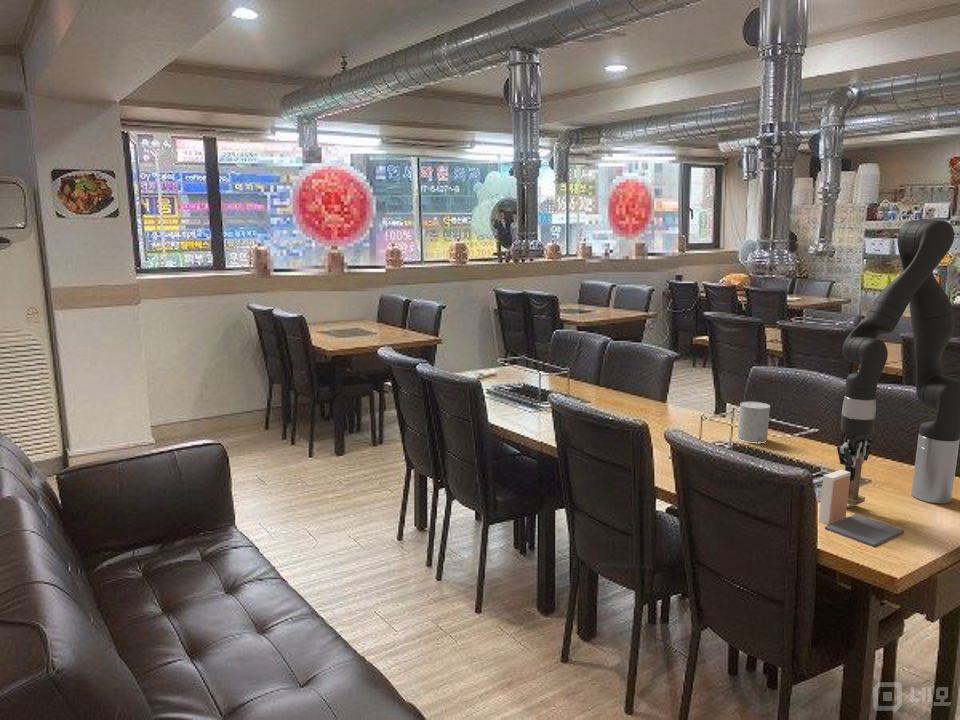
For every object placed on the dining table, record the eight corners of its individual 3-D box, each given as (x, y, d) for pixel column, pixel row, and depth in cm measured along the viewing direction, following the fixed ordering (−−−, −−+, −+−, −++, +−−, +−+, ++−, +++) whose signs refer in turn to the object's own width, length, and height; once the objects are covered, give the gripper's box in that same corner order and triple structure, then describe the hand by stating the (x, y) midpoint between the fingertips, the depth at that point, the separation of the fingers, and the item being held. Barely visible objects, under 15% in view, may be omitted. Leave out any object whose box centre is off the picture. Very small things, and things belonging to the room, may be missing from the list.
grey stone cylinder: (737, 442, 241) (740, 407, 239) (737, 434, 250) (739, 400, 248) (767, 445, 238) (771, 409, 236) (766, 437, 247) (769, 402, 245)
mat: (855, 515, 182) (855, 513, 181) (904, 532, 172) (904, 530, 172) (824, 528, 174) (824, 526, 174) (873, 546, 164) (874, 544, 164)
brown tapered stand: (845, 495, 190) (850, 447, 188) (864, 501, 186) (869, 452, 184) (835, 499, 187) (840, 451, 185) (854, 505, 183) (859, 456, 181)
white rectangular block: (836, 514, 183) (841, 469, 180) (846, 517, 180) (851, 472, 178) (818, 521, 178) (823, 475, 176) (829, 525, 176) (834, 478, 174)
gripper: (858, 407, 189) (852, 469, 193) (829, 415, 181) (823, 480, 185) (887, 413, 183) (880, 477, 186) (858, 422, 175) (851, 488, 179)
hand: (852, 478), depth 186 cm, fingers closed on brown tapered stand, 2 cm apart
